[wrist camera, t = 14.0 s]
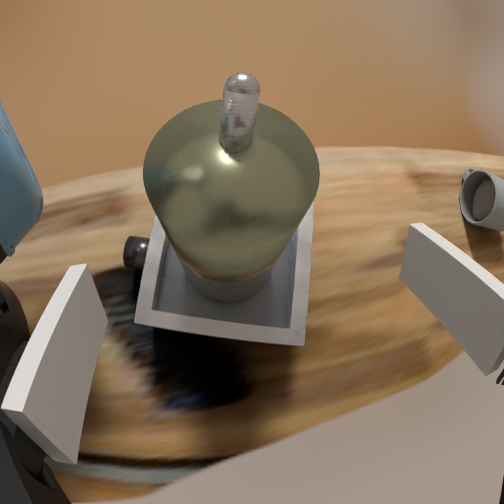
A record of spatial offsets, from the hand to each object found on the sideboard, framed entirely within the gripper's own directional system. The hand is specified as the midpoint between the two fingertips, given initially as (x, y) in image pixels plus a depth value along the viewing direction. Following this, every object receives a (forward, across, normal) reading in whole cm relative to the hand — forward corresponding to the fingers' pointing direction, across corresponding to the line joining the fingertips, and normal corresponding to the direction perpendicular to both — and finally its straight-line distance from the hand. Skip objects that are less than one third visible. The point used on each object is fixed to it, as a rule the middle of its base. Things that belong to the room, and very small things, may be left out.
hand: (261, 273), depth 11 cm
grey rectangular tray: (+16, -2, -9) cm, 19 cm away
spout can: (+12, -1, -6) cm, 14 cm away
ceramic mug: (+19, +36, -6) cm, 41 cm away
